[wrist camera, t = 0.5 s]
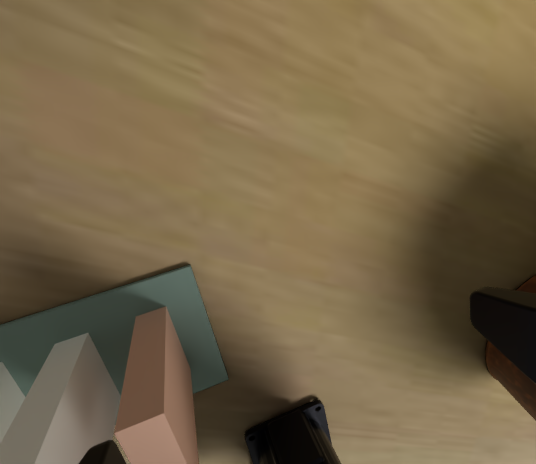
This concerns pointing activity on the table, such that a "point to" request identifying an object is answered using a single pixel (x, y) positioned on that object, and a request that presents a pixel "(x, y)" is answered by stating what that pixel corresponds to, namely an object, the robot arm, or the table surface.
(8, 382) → the domino
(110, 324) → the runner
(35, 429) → the domino
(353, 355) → the table surface
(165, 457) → the domino
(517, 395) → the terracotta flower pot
